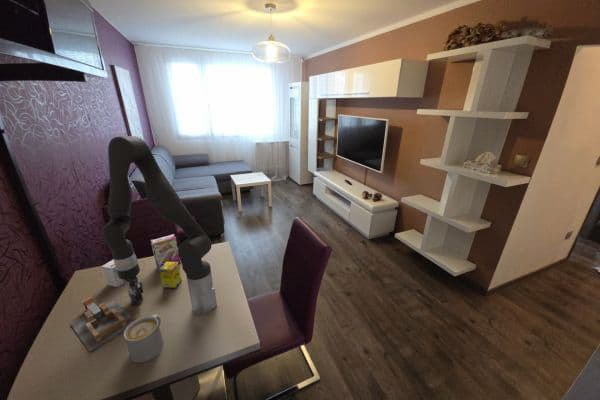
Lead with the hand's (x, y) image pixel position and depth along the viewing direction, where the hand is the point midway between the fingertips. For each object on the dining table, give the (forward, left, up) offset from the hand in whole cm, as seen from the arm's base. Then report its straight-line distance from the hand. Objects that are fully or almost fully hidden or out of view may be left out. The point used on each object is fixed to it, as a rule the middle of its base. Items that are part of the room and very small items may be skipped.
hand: (136, 297), depth 107 cm
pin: (+7, +13, -2) cm, 15 cm away
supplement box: (-2, -15, -3) cm, 15 cm away
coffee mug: (-26, +7, -3) cm, 27 cm away
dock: (-2, +13, -2) cm, 13 cm away
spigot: (0, 0, -3) cm, 3 cm away
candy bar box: (+14, -22, -3) cm, 26 cm away
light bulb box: (+22, -3, -3) cm, 22 cm away
